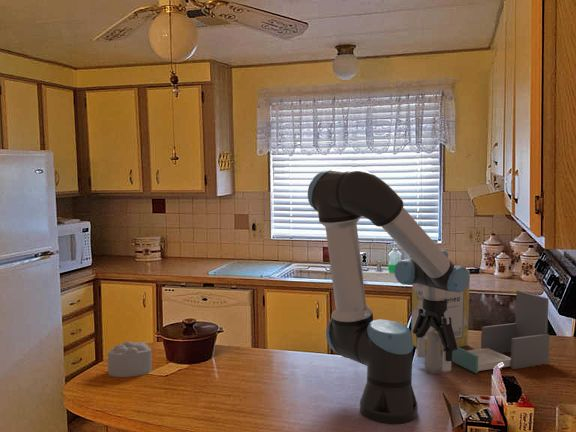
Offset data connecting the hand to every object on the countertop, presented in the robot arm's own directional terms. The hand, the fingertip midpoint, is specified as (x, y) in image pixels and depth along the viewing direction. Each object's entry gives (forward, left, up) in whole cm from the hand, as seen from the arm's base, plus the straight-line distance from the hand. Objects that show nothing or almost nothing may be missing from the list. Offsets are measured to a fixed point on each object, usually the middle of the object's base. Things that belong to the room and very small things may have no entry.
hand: (433, 363), depth 177 cm
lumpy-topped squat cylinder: (+34, +91, -3) cm, 97 cm away
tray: (+1, -19, -2) cm, 20 cm away
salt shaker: (0, 0, -3) cm, 3 cm away
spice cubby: (+1, -33, -3) cm, 33 cm away
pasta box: (+23, -19, -3) cm, 30 cm away
